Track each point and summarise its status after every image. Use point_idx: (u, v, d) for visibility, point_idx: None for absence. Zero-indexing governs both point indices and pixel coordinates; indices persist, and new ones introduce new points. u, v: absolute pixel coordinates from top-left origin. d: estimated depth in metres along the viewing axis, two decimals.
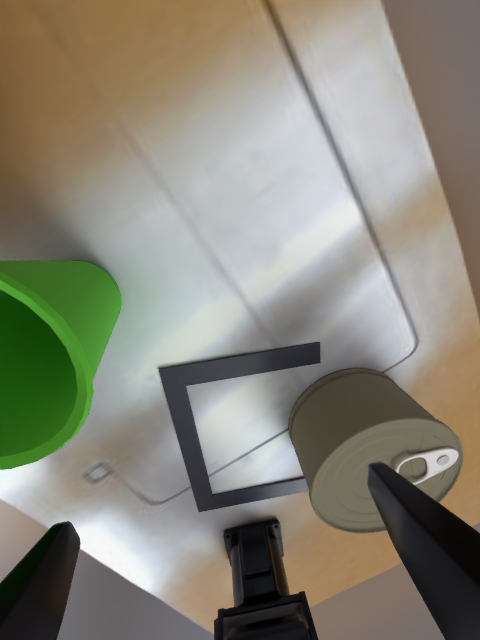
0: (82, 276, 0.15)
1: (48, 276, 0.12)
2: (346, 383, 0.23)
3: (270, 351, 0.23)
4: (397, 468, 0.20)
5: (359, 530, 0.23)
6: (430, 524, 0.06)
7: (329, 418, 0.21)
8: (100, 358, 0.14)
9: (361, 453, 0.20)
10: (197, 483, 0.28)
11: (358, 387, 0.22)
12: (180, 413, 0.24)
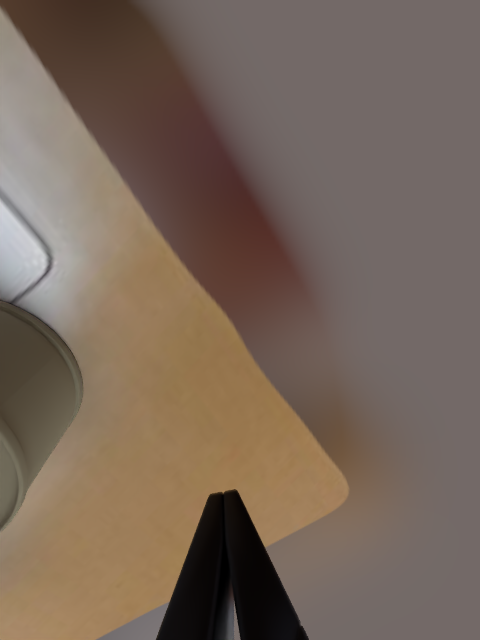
0: None
1: None
2: None
3: None
4: None
5: None
6: (237, 564, 0.06)
7: None
8: None
9: None
10: None
11: None
12: None
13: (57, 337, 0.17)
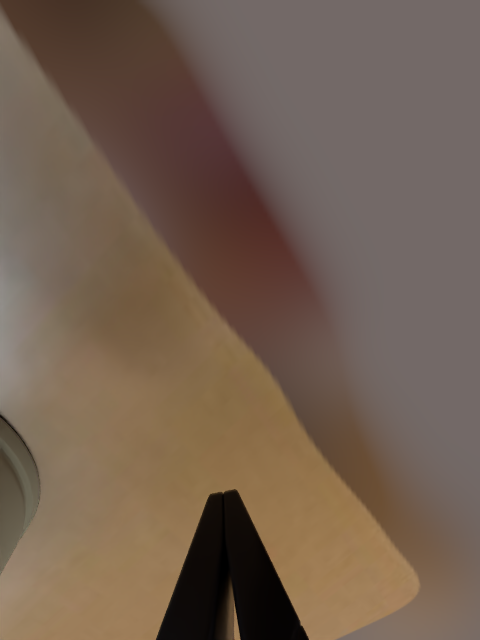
0: None
1: None
2: None
3: None
4: None
5: None
6: (237, 564, 0.06)
7: None
8: None
9: None
10: None
11: None
12: None
13: None
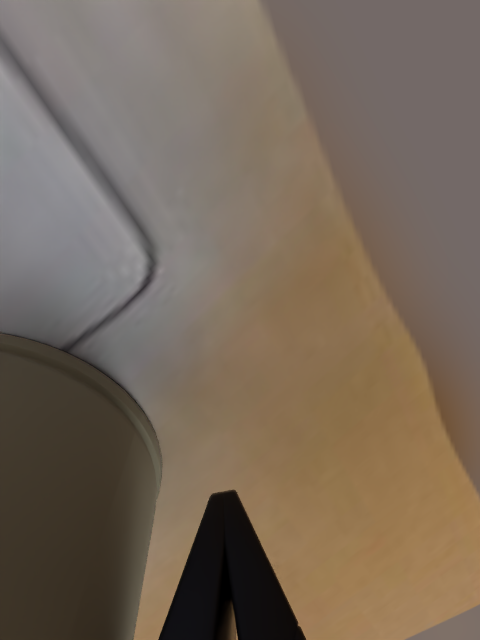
0: None
1: None
2: None
3: None
4: None
5: None
6: (235, 564, 0.06)
7: None
8: None
9: None
10: None
11: None
12: None
13: (129, 399, 0.10)
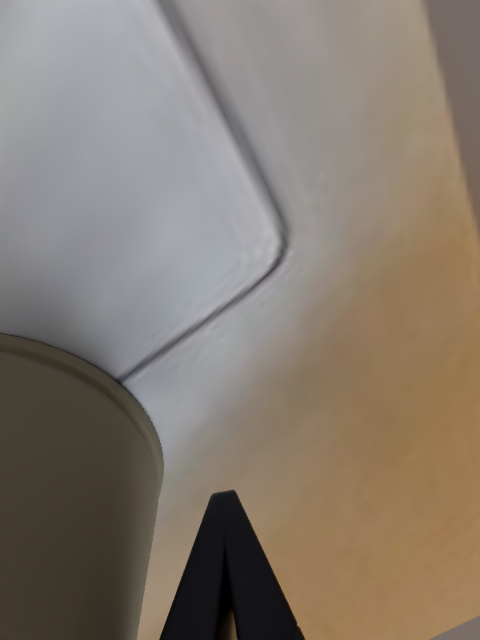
0: None
1: None
2: None
3: None
4: None
5: None
6: (234, 564, 0.06)
7: None
8: None
9: None
10: None
11: None
12: None
13: (131, 398, 0.10)
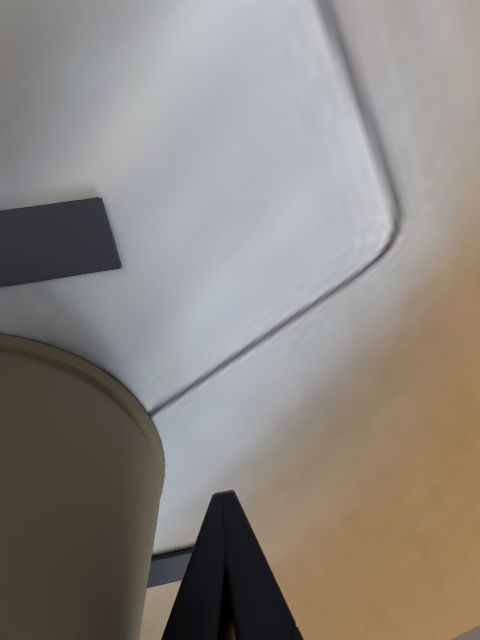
0: None
1: None
2: None
3: None
4: None
5: None
6: (233, 565, 0.06)
7: None
8: None
9: None
10: None
11: None
12: None
13: (132, 398, 0.10)
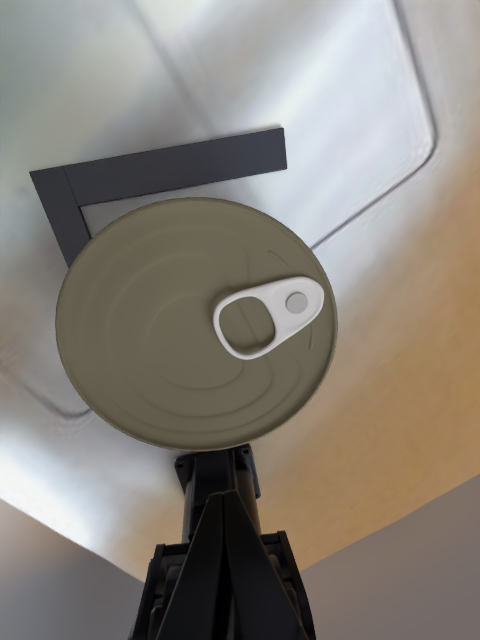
0: None
1: None
2: None
3: (205, 142, 0.15)
4: (214, 320, 0.11)
5: (191, 446, 0.14)
6: (237, 564, 0.06)
7: None
8: None
9: (139, 292, 0.11)
10: None
11: None
12: None
13: None
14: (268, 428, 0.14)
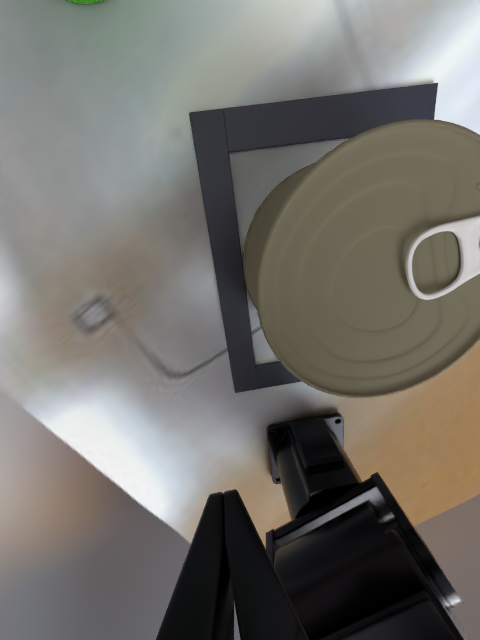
0: None
1: None
2: None
3: (362, 93, 0.15)
4: (409, 254, 0.11)
5: (347, 392, 0.14)
6: (237, 564, 0.06)
7: (290, 184, 0.12)
8: None
9: (344, 221, 0.11)
10: (236, 342, 0.19)
11: None
12: (218, 207, 0.16)
13: None
14: (423, 376, 0.14)
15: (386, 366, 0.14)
